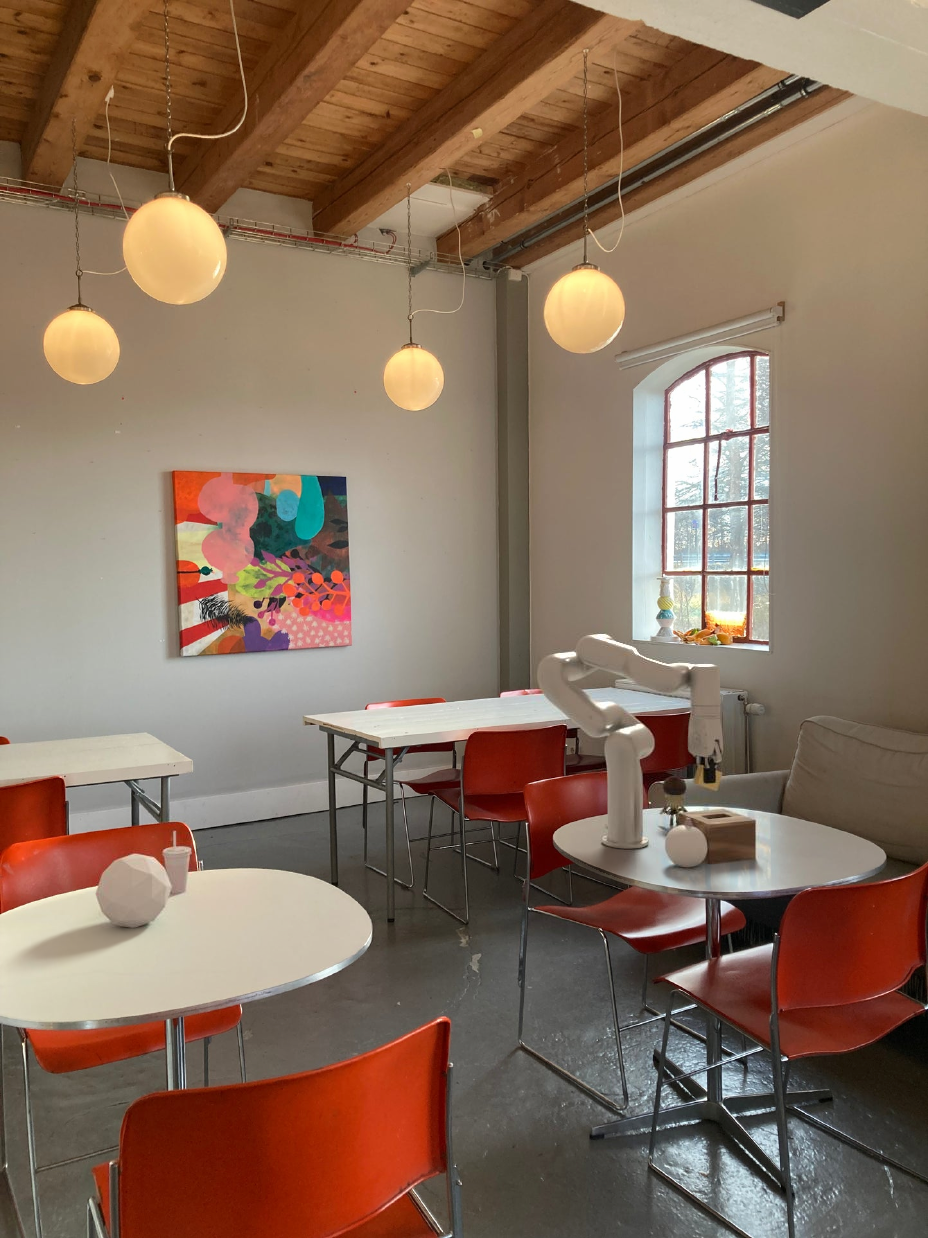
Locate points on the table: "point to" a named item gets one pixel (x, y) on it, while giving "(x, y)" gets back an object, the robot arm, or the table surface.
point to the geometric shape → (133, 890)
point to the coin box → (724, 834)
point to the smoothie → (177, 866)
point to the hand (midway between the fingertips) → (707, 781)
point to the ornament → (686, 845)
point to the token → (700, 778)
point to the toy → (674, 797)
